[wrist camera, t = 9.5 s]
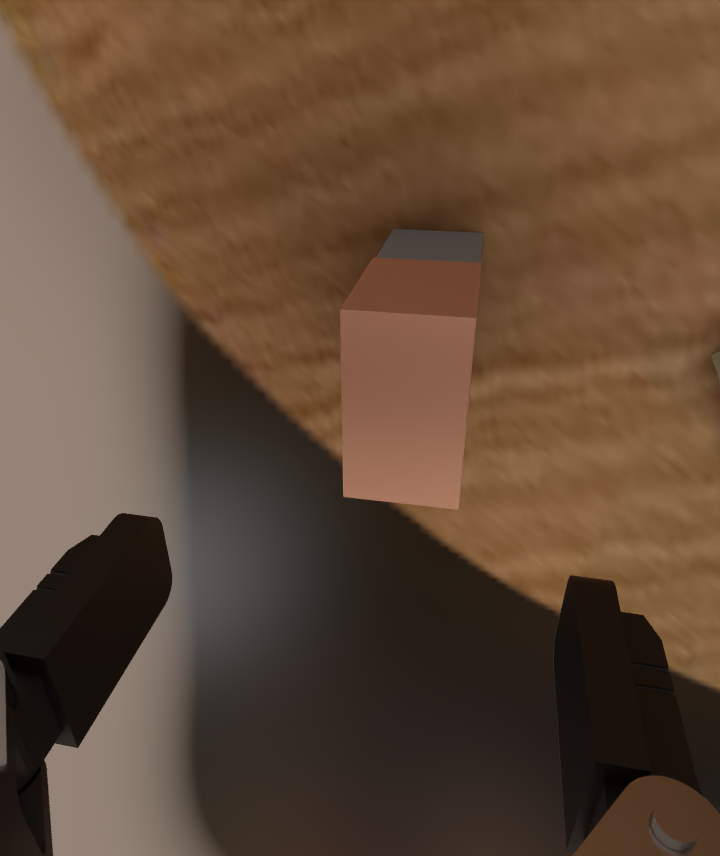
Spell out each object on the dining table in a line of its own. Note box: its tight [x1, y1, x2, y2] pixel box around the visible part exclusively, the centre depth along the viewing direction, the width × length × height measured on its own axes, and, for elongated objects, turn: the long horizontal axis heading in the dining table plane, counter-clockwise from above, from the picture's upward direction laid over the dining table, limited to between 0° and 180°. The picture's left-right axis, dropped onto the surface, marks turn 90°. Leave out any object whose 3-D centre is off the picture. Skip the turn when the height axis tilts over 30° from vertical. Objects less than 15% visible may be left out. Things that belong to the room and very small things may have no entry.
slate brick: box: [376, 229, 484, 263], centre depth 24 cm, size 6×4×5 cm, turn 0°
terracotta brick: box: [340, 257, 482, 510], centre depth 20 cm, size 6×4×5 cm, turn 0°
